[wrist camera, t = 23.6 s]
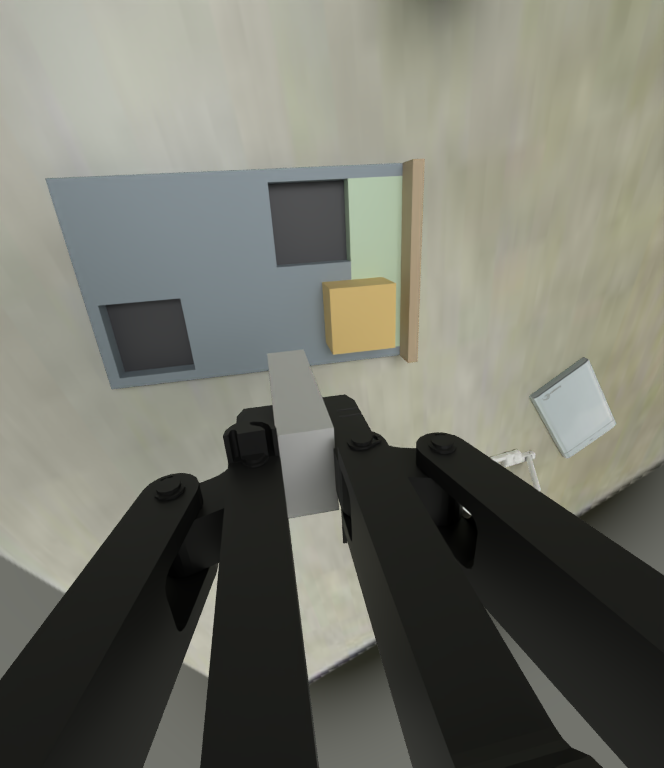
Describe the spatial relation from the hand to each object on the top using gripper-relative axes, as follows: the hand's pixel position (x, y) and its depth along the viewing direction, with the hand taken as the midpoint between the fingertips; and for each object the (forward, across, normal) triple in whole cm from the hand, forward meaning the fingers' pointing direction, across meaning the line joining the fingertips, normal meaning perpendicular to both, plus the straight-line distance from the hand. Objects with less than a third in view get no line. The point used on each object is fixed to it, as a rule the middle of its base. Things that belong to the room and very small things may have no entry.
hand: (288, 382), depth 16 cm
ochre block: (+22, +8, -3) cm, 24 cm away
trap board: (+24, -1, +1) cm, 24 cm away
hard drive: (+25, +38, -19) cm, 50 cm away
